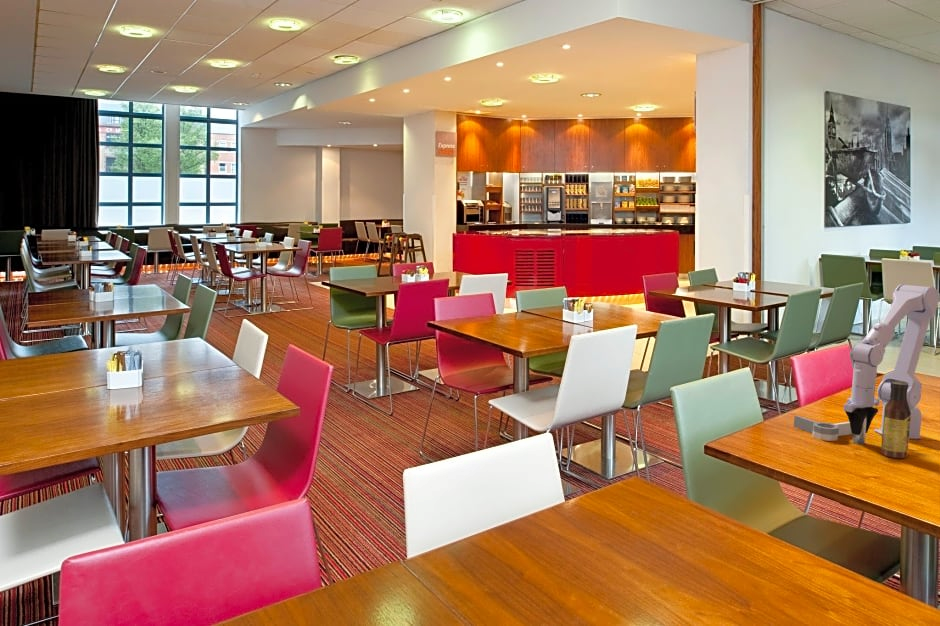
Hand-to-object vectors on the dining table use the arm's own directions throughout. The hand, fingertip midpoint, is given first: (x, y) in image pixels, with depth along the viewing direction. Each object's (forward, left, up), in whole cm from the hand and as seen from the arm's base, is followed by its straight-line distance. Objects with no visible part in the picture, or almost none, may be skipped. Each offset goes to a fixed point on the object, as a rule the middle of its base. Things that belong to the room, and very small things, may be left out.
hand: (859, 433), depth 204 cm
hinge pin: (0, 0, -3) cm, 3 cm away
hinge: (+5, -10, -3) cm, 11 cm away
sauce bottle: (-3, +11, -3) cm, 12 cm away
